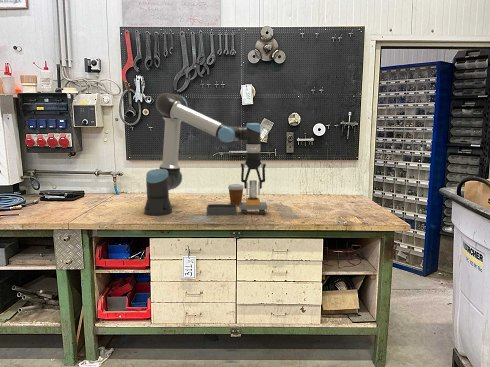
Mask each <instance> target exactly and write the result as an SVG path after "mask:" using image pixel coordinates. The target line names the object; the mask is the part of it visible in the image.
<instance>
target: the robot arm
mask: <svg viewBox="0 0 490 367" xmlns="http://www.w3.org/2000/svg"><path fill="white" fill-rule="evenodd" d="M155 108H156V110H157V111H158V112H159V113H160V114H161V115H162V119H163V120H164V134H163V136H164V137H163V151H162V152H163V153H162V163H161V164H160V165H159V168H156V169H155V168H154V169H150V170H148V171H147V172H146V176H145V181H146V182H145V183H146V202H145V206H144V209H143V211H144V212H143V213H144V215H147V216H165V215H170V214H172V213H173V206H172V204H171V200H170V196H169V195H170V194H169V191H171V190H174V189H176V188H177V187H179V186H181V184H182V182H183V174H182V172H181V166H180V165H179V164H178V163H179V151H180V150H179V148H180V139H181V138H180V136H181V135H180V134H181V123H182V122H183V123H186V124H188V125H191V126H192V127H195V128H197V129H198V130H201V131H203V132H205V133H206V134H207V133H208V134H209V135H212V136H213V137H215V138H217V139H219V141H221V142H223V143H231V142H236V141H237V142H246V143H245V145H246V146H245V149H246V153H245V155H246V156H245V157H246V160H245V162H243V163H242V162H241V163H240V167H241V174H240V181H241V183H244V184H243V187H244V188H243V189H245V190H246V192H245V193H246V194H245V195H246V196H248V195H249V183H248V179H249V176H250V173H251V170H255V172H256V173H257V174H256V175H257V177H258V178H257V179H258V181H259V182H258V181H257V196H260V195H261V194H260V193H261V192H260V191H261V189H263V183H265V182H266V165H267V164H266V163H264V162H261V153H260V152H261V134H262V133H261V132H262V130H261V124H260V123H259V122H247V123H246V125H245V126H231V125H230V126H229V125H226V124H224V123H222V122H220V121H218V120H216V119H213V118H212V117H209V116H207V115H205V114H203V113H201V112H198V111H196V110H194V109H192V108H190V107H188V102H187V99H185V97H183V96H182V95H179V94H175V93H171V92H170V93H169V92H164V93H161V94H160V95H158V96H157V98H156V100H155ZM245 166H246V167H247V172H246V174H244V172H245ZM260 167H261V170H262V177H261V173H260V171H259V168H260ZM244 176H245V177H244Z"/></svg>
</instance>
